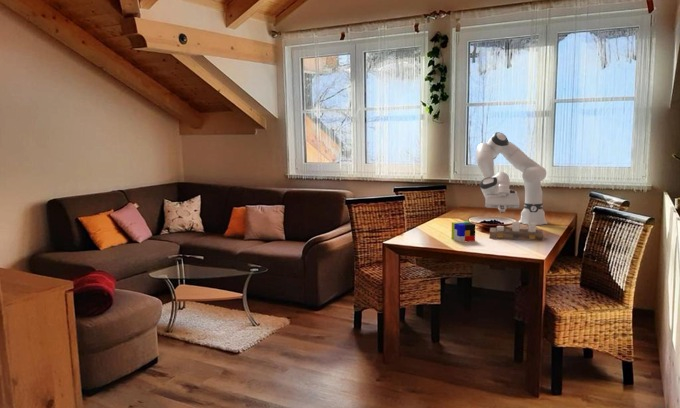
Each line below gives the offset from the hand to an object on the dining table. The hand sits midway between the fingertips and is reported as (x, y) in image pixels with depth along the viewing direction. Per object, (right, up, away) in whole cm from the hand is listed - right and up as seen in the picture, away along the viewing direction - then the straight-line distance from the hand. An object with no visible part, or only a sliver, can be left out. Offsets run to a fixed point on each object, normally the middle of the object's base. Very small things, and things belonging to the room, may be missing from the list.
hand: (502, 212), depth 312 cm
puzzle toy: (-25, -16, -6) cm, 31 cm away
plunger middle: (+7, -12, -2) cm, 14 cm away
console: (+7, -15, -2) cm, 17 cm away
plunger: (+16, -12, -5) cm, 21 cm away
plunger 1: (-1, -15, +1) cm, 15 cm away
